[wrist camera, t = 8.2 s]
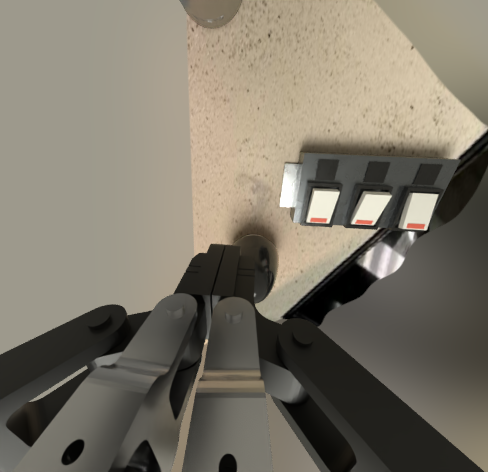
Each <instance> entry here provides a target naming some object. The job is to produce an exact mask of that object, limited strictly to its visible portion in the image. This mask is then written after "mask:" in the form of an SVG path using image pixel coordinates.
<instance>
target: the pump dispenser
mask: <svg viewBox="0 0 488 472" xmlns="http://www.w3.org/2000/svg"><path fill="white" fill-rule="evenodd" d="M233 245H241V255H244V256H251V257H252V259H253V260H254V262H255V281H254V304H256V303H259V302H261V301H263V300H264V299H265V298H266V297H267V296H268V295H269V294H270V292H271V290H272V288H273V286H274V283H275V280H276V277H277V272H278V265H279V256H278V251H277V249H276V247H275V245H274V244H273V243H272V242H271V241H270V240H268V239H267V238H265V237H263V236H261V235H256V234H251V235H246V236H244V237H242V238H240V239H238V240H237V241H236V242H235V243H234V244H233Z"/></svg>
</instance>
